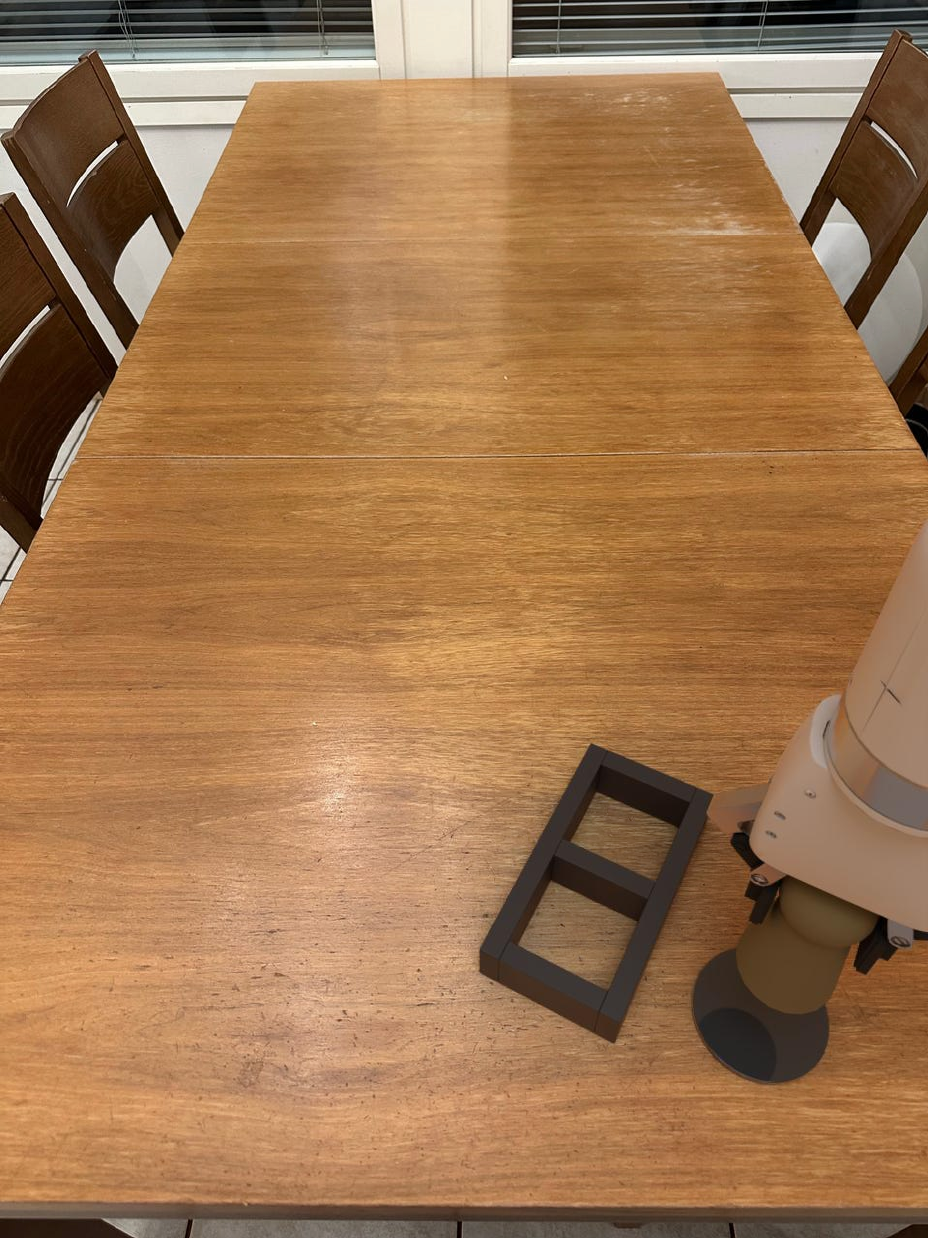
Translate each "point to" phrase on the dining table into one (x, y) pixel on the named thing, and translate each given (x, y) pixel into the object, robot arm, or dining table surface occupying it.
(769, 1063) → the coaster
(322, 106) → the dining table surface
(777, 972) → the cork
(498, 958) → the holder
